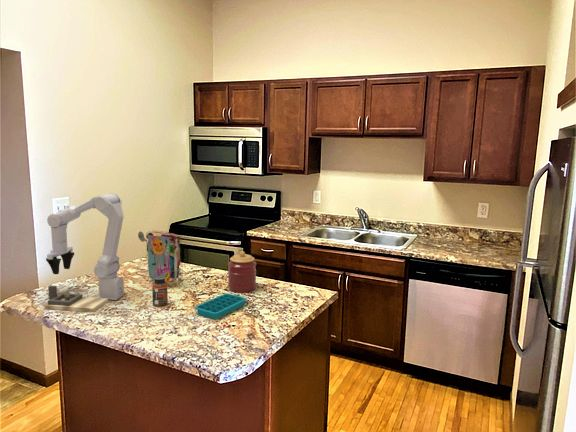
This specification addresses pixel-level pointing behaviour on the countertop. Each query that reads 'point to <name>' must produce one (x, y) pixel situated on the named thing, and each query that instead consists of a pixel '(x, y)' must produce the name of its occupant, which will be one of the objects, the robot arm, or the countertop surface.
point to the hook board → (80, 304)
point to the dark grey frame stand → (61, 297)
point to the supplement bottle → (159, 292)
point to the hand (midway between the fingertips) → (61, 271)
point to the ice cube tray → (220, 305)
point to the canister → (242, 273)
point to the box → (163, 255)
